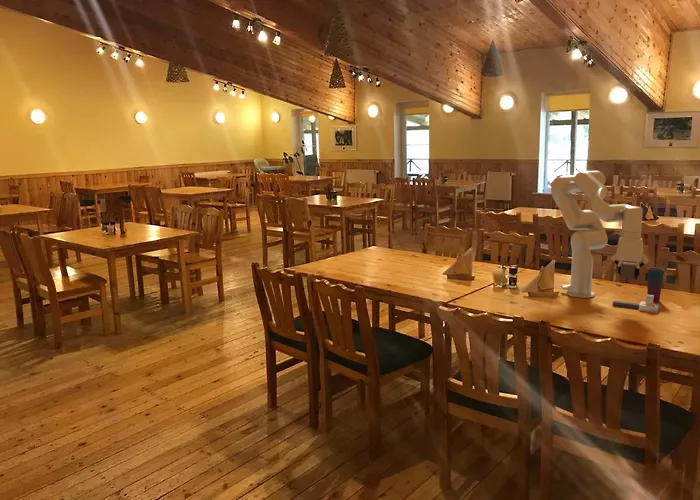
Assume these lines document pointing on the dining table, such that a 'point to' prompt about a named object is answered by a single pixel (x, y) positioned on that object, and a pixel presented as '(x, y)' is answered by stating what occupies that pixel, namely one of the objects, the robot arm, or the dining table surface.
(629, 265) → the socket
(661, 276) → the cup
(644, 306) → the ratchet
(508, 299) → the dining table surface
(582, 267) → the robot arm
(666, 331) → the dining table surface
